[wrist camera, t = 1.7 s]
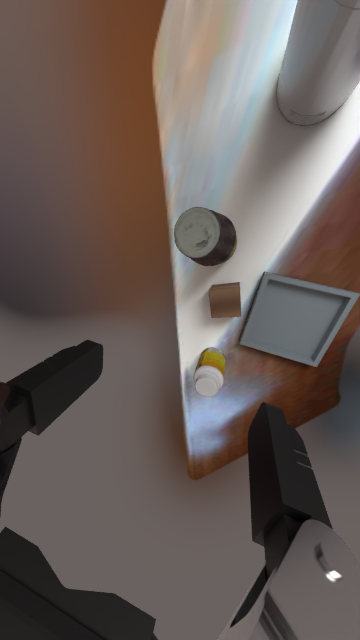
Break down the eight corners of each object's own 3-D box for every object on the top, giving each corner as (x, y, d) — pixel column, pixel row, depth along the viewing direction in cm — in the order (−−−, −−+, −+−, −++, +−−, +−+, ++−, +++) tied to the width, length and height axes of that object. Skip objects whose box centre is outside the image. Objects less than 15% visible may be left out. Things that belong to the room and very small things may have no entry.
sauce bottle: (234, 262, 34) (230, 281, 17) (200, 261, 36) (162, 277, 18) (239, 222, 32) (239, 192, 14) (202, 222, 34) (161, 196, 16)
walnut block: (212, 285, 37) (208, 290, 32) (239, 282, 35) (239, 287, 31) (214, 309, 38) (211, 318, 34) (240, 307, 37) (241, 316, 32)
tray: (264, 271, 33) (265, 273, 32) (352, 291, 31) (359, 294, 29) (239, 339, 39) (239, 344, 37) (312, 361, 37) (316, 367, 35)
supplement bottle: (204, 342, 42) (194, 370, 33) (229, 350, 41) (226, 381, 31) (198, 363, 44) (187, 394, 35) (222, 371, 43) (217, 405, 34)
